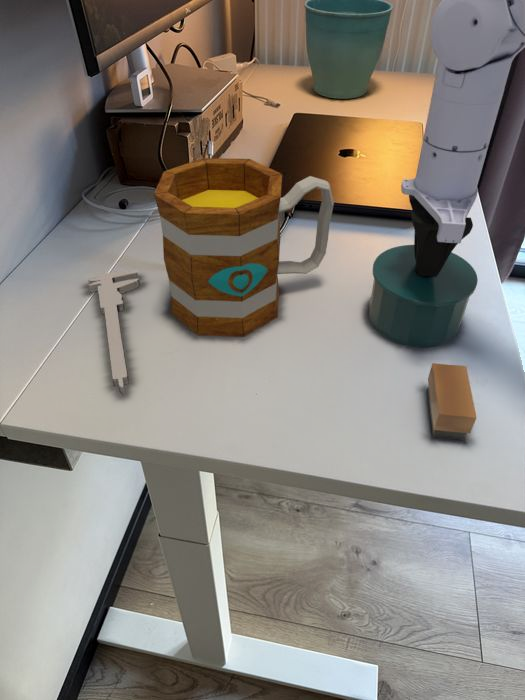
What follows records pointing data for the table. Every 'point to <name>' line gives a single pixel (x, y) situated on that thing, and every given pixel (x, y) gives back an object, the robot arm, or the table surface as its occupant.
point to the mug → (230, 242)
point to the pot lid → (423, 278)
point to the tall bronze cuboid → (450, 401)
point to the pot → (414, 319)
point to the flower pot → (345, 44)
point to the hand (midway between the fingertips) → (425, 266)
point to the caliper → (115, 316)
